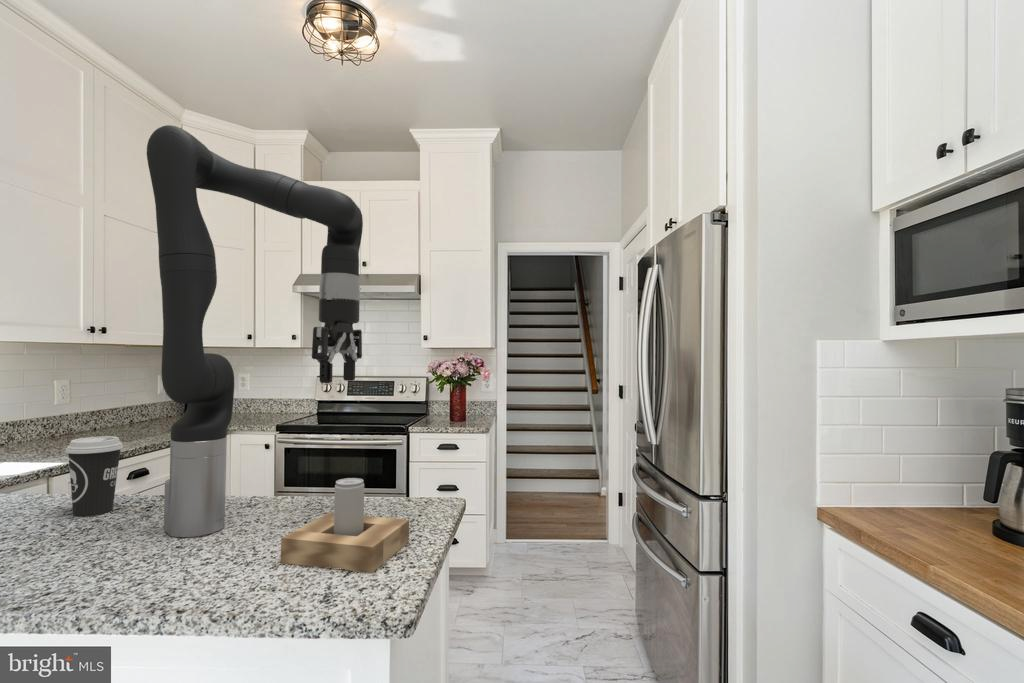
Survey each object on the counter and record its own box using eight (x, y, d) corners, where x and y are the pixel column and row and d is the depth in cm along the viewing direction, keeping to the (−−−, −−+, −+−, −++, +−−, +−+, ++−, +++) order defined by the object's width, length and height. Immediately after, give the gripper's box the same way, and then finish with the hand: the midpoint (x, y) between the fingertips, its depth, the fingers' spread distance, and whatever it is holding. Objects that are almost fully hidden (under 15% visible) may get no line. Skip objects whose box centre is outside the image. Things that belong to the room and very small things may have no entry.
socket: (280, 563, 87) (281, 537, 87) (328, 534, 100) (328, 512, 100) (372, 573, 83) (372, 547, 83) (408, 542, 97) (409, 519, 97)
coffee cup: (98, 519, 107) (100, 443, 107) (50, 518, 107) (52, 442, 108) (132, 505, 117) (134, 436, 117) (88, 504, 117) (90, 435, 117)
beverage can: (354, 558, 89) (356, 485, 89) (327, 556, 90) (329, 483, 90) (367, 548, 94) (369, 478, 94) (342, 545, 95) (343, 477, 95)
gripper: (341, 302, 113) (339, 379, 113) (300, 294, 99) (298, 383, 99) (374, 301, 111) (372, 380, 111) (337, 294, 97) (335, 384, 97)
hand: (337, 381), depth 105 cm, fingers open, 8 cm apart
